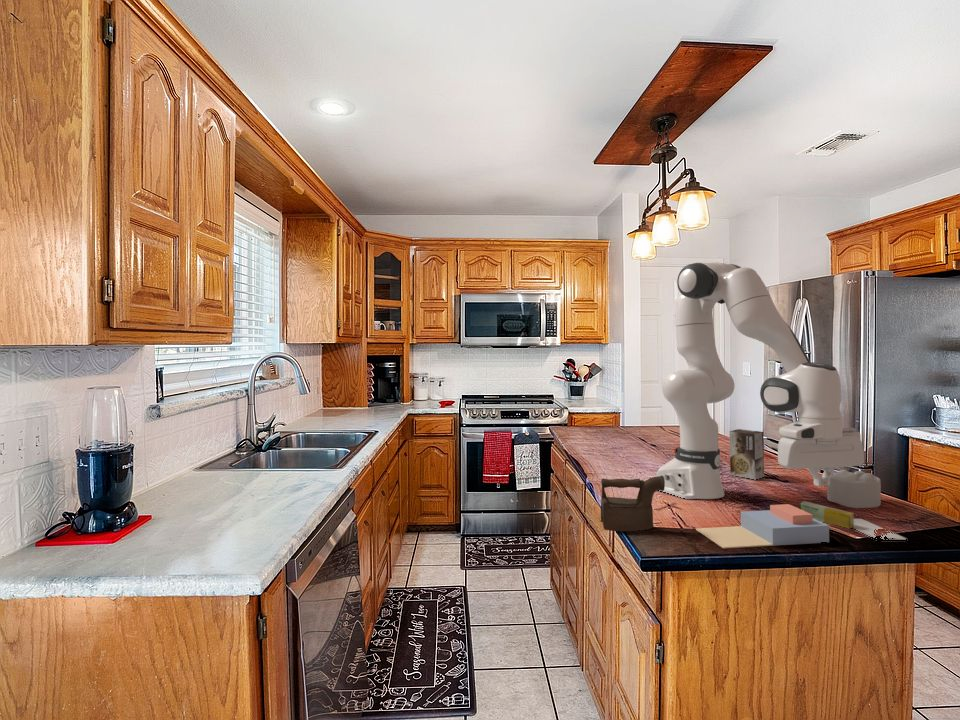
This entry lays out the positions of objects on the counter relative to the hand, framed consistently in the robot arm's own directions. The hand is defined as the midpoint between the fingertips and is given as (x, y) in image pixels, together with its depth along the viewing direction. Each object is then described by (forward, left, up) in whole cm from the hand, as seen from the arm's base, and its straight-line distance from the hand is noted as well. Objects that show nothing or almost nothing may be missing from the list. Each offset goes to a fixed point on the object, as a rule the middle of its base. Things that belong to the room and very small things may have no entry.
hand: (821, 485), depth 122 cm
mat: (-14, -18, -12) cm, 26 cm away
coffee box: (-34, +42, -12) cm, 56 cm away
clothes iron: (-34, -30, -12) cm, 47 cm away
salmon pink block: (-5, -6, -8) cm, 11 cm away
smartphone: (+7, +11, -12) cm, 18 cm away
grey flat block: (-6, -8, -12) cm, 15 cm away
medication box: (-2, +10, -12) cm, 16 cm away
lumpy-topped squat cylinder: (-1, +35, -12) cm, 37 cm away
